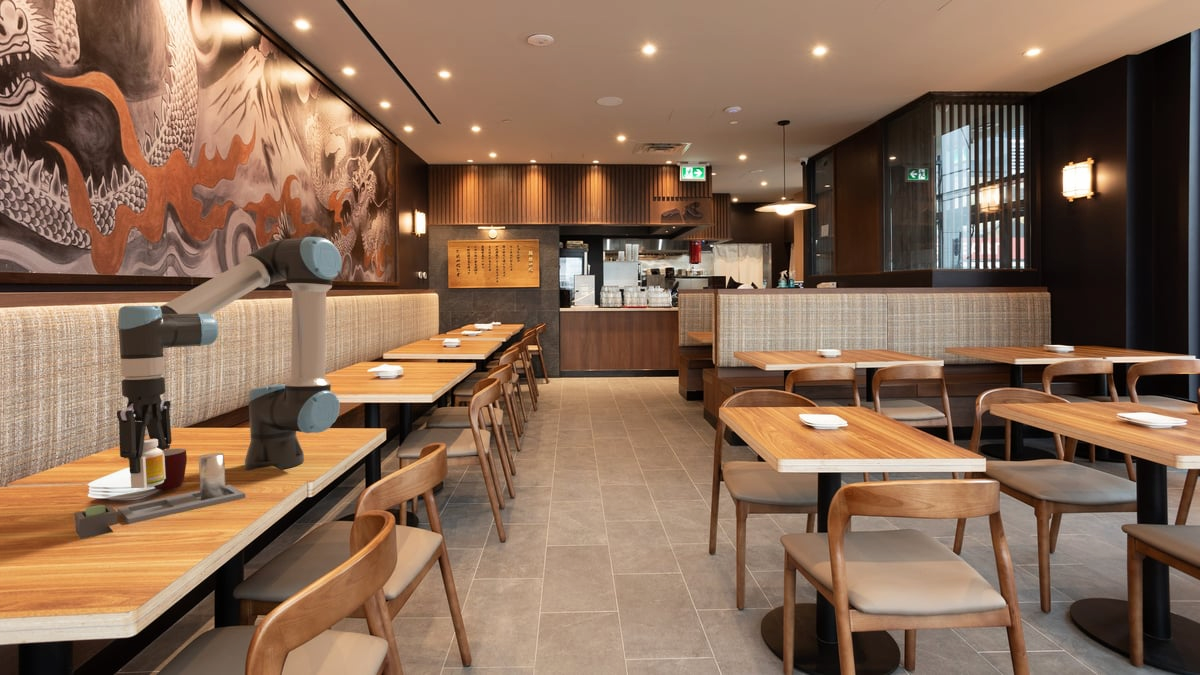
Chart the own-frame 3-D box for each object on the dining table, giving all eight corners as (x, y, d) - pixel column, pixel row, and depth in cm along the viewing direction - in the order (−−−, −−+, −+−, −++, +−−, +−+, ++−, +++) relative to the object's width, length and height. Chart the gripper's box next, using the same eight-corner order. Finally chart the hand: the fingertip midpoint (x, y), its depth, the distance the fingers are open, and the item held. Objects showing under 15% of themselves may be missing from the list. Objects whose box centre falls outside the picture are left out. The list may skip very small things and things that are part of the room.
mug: (179, 498, 150) (177, 457, 149) (139, 501, 147) (137, 460, 146) (192, 485, 160) (190, 447, 159) (155, 489, 157) (153, 450, 156)
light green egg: (104, 522, 131) (103, 503, 130) (107, 526, 128) (106, 507, 128) (85, 526, 128) (84, 507, 128) (88, 530, 126) (86, 511, 126)
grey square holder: (112, 523, 133) (110, 505, 132) (118, 530, 129) (116, 511, 128) (75, 531, 128) (74, 512, 128) (80, 539, 124) (79, 519, 124)
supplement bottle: (170, 482, 137) (167, 438, 136) (145, 489, 132) (142, 443, 131) (152, 480, 139) (150, 437, 138) (127, 487, 133) (124, 442, 133)
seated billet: (222, 493, 148) (219, 451, 147) (229, 497, 145) (226, 455, 144) (197, 498, 144) (195, 456, 144) (204, 503, 141) (202, 459, 140)
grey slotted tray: (229, 494, 152) (229, 484, 152) (245, 503, 144) (245, 493, 144) (117, 518, 136) (117, 507, 136) (129, 530, 128) (128, 519, 128)
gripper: (154, 372, 143) (159, 472, 144) (92, 383, 124) (98, 497, 126) (187, 372, 143) (192, 471, 144) (130, 382, 125) (136, 496, 126)
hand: (148, 483), depth 135 cm, fingers closed on supplement bottle, 5 cm apart
